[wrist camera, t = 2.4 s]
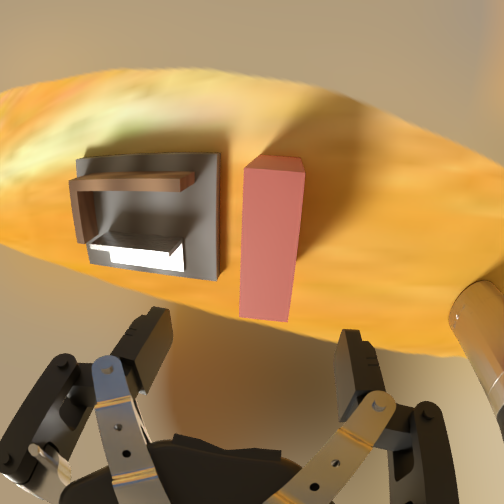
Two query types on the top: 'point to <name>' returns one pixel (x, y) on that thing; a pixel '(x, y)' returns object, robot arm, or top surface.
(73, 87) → the top surface
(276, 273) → the book
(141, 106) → the top surface
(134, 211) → the book rack
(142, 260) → the bookend
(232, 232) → the top surface
